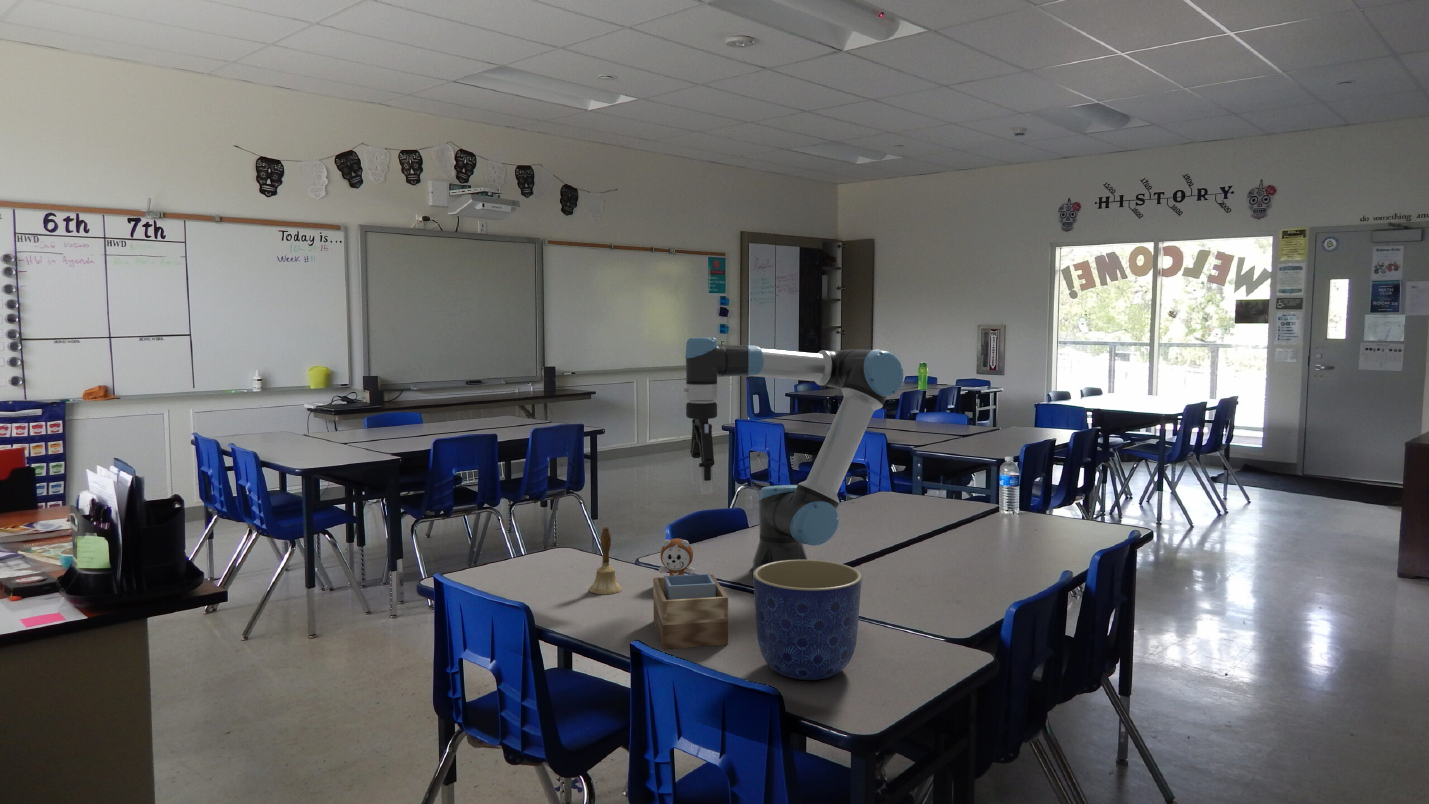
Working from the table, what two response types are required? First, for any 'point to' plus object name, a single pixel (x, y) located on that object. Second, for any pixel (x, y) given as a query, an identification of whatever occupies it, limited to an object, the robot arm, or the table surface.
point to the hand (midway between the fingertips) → (701, 488)
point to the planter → (807, 616)
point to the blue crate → (689, 586)
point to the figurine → (676, 557)
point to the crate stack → (690, 618)
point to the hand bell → (605, 570)
